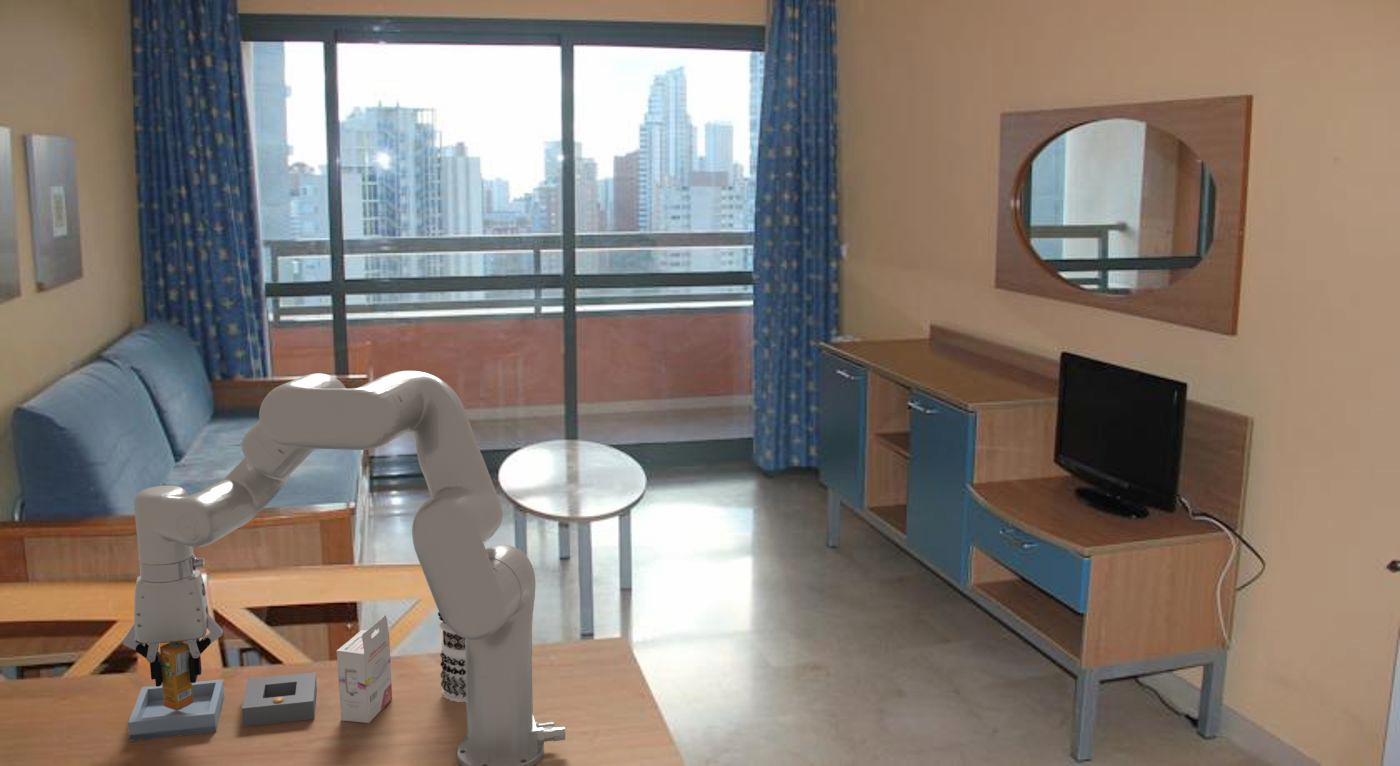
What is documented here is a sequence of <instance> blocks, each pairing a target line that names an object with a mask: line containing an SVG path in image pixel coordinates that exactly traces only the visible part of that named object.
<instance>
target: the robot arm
mask: <svg viewBox="0 0 1400 766" xmlns="http://www.w3.org/2000/svg"><path fill="white" fill-rule="evenodd" d="M258 418H259V420H258V421H256V423H254V425H253V426H252V427H251V428H250V429H249V430H248V431H247V432H246V433H245V435H243V438H242V440H241V451H242V454H243V456H244V457H243V458H242V460H241V461H240V462H239V463H237V465H235V467H234V468H233V470H231V472H230V473H229V474H227V475H226V476H225V477H224V478H223V479H222V480H220V481H219V482H217V483H215V484H213V485H210V486H208V487H206V488H204V489H203V490H200V491H198V492H196V493H192V494H190V495H189V494H188V492H187V491H186V489H185V488H183V487H181V486H178V485H165V484H164V485H157V486H151V487H148V488H145V489H143V490H141V491H138V493H137V494H136V495H135V497H134V500H133V506H134V507H133V508H134V510H133V511H134V519H135V532H136V540H137V553H138V563H139V574H140V575H139V576H137V578H136V582H135V588H134V603H133V604H134V608H133V609H134V612H133V613H134V616H133V617H134V618H133V619H134V623H133V624H132V625H131V627H130V629H129V631H128V632H127V634H126V635H125V636H124V638H123V640H122V645H123V646H125V647H127V648H129V649H130V650H133V651H135V652H137V654H138V655H140V656H142V657H143V658H144V659H146V662H147V663H149V669H150V677H151V678H150V679H151V680H155V682H154V683H155V686H156V687H158V686H160V685H162V669H161V652H159V648H160V644H164V643H165V644H168V643H170V642H177V641H180V642H186V643H187V644H188V646H189V649H190V657H189V673H190V682H192V683H196V682H197V679H198V676H200V675H202V670H203V669H202V659H201V655H202V654H203V653H204V651H205V650H206V649H207V648H208V647H209V646H210V645H211V644H213V643H214V642H216V641H217V640H218V639H219V638H220V637H222V636H223V632H224V629H223V628H222V627H221V626H220V625H219V624H218V623H217V621H215V619H214V618H213V617H212V616H211V615H210V613H209V612H210V610H209V603H208V597H207V596H208V595H207V591H206V586H205V583H204V578H203V575H202V572H201V570H198V569H199V568H204V567H205V566H206V565H205V558H204V557H199V556H198V557H197V556H196V555H195V552H194V548H201V547H202V548H203V547H206V546H209V545H211V544H214V543H215V542H217V541H218V540H221V539H222V538H224V537H225V536H227V535H228V534H230V533H233V532H234V531H236V530H237V529H239V528H242V527H243V526H245V525H246V524H248V523H249V522H250V521H252V520H253V518H255V517H256V516H257V515H258V514H260V512H261V511H263V509H264V508H266V506H267V505H268V504H269V503H270V502H272V500H273V499H274V498H275V497H276V496H277V495H278V494H279V493H280V491H281V490H282V489H283V488H284V486H285V485H286V483H287V482H288V480H289V479H290V477H291V474H292V473H293V472H294V471H296V469H297V468H298V467H299V466H300V465H302V463H303V462H304V461H305V460H306V459H307V458H308V457H309V456H311V454H312V453H313V452H314V451H315V450H341V451H342V450H343V451H344V450H345V451H347V450H348V451H365V450H374V449H377V448H379V447H380V448H381V447H383V446H384V445H387V444H388V443H389V444H390V442H392V441H393V440H395V439H397V438H399V437H401V436H403V435H405V434H406V433H407V432H408V433H412V434H413V435H414V438H415V443H416V444H415V445H416V446H415V447H416V456H417V462H418V464H419V468H420V471H421V472H422V475H423V477H424V480H425V483H426V486H427V489H428V492H429V495H430V497H429V499H428V500H426V501H425V502H424V503H423V504H422V505H421V506H420V507H419V508H418V510H417V512H416V514H415V515H414V519H413V520H412V521H413V522H412V526H411V527H412V528H411V536H412V544H413V547H414V551H415V554H416V557H417V560H418V563H419V564H420V567H421V571H422V573H423V576H424V577H425V580H426V583H427V585H428V588H429V591H430V592H431V595H432V598H433V601H434V603H435V605H436V609H437V611H438V612H439V613H440V615H441V617H442V618H443V620H444V622H445V623H446V624H447V626H448V627H449V628H450V629H451V630H452V631H453V632H454V633H456V634H457V635H459V636H461V637H463V638H465V669H466V737H465V738H463V740H462V741H461V742H460V743H459V744H458V746H457V749H456V758H457V759H456V760H457V761H458V764H459V765H461V766H534V765H536V764H538V762H540V761H541V759H543V756H544V753H545V742H559V741H566V729H565V726H556V727H555V722H554V721H547V722H543V723H542V722H541V723H539V722H538V721H535V717H534V715H533V709H534V708H533V704H534V703H533V660H532V659H533V657H532V656H533V620H534V619H533V618H534V607H535V599H536V587H537V583H536V575H535V570H534V567H533V564H532V562H531V560H530V559H529V557H528V556H527V555H526V554H525V553H524V552H523V551H522V550H521V549H519V548H518V547H515V546H513V545H510V544H509V545H508V544H496V545H492V546H489V547H487V548H486V546H485V544H486V543H487V542H488V541H489V540H490V539H491V538H492V537H493V536H494V534H495V533H496V532H497V531H498V530H499V529H500V526H501V525H502V523H503V515H504V514H503V508H502V504H501V502H500V498H499V496H498V493H497V490H496V489H495V488H496V487H495V486H494V483H493V481H492V478H491V475H490V473H489V470H488V467H487V464H486V462H485V460H484V457H483V455H482V452H481V451H480V447H479V445H478V443H477V439H476V437H475V434H474V431H473V429H472V426H471V423H470V420H469V418H468V415H467V412H466V409H465V406H464V404H463V402H462V401H461V399H460V398H459V396H458V394H457V393H456V392H455V391H454V389H453V388H452V387H451V386H450V385H449V384H448V383H447V382H445V380H443V379H441V378H439V377H437V376H436V375H434V374H430V373H428V372H425V371H420V370H419V371H418V370H401V371H400V370H399V371H395V372H391V373H388V374H386V375H383V376H380V377H377V378H376V379H374V380H371V381H370V382H368V383H365V384H363V385H361V386H358V387H354V388H346V386H345V385H344V384H343V382H341V380H340V379H338V378H336V377H335V376H333V375H330V374H328V373H327V374H326V373H320V372H319V373H317V372H316V373H310V374H309V373H308V374H306V375H303V376H300V377H297V378H296V379H293V380H290V381H288V382H285V383H282V384H281V385H278V386H276V387H274V388H273V389H272V390H271V391H269V392H268V393H267V395H266V396H265V397H264V398H263V400H262V402H261V405H260V407H259V413H258ZM207 630H208V631H209V633H208V634H207ZM206 634H207V635H206Z"/></svg>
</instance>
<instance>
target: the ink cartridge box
mask: <svg viewBox="0 0 1400 766" xmlns="http://www.w3.org/2000/svg"><path fill="white" fill-rule="evenodd" d="M390 643H391V642H390V632H389V624H388V618H387V615H383V616H382V617H380V619H378V620H377V621H376V622H375V623H374V624H372V625H371V626H370V627H369V628H368V629H361V630H360V631H358V632H357V633H356V634H355V635H354V636H352V638H350V639H349V640H348V641H346V642H345V643H344V644H343V645H342V646H340V648H338V649H337V650H336V660H337V661H336V663H337V678H338V693H339V709H340V720H341V721H342V722H343V721H344V722H345V721H346V722H354V723H355V722H356V723H364V724H370V723H371V722H372V720H373V719H374V718H375V717H376V716H377V715H378V714H380V712H382V710H383V709H384V708H385V707H386V706H387V705H388V704H389V703H390V702H391V701H392V699H393V689H392V685H393V683H392V665H391V664H392V663H391V645H390Z"/></svg>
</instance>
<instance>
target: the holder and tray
mask: <svg viewBox="0 0 1400 766" xmlns="http://www.w3.org/2000/svg"><path fill="white" fill-rule="evenodd" d="M224 684H225V683H224V679H223V678H221V679H213V680H203V681H196V683H192V693H193V703H192V704H190V705H188V706H186V707H184V708H182V709H180V710H178V711H176V710H174V709H171V708H168V707H165V706H164V703H163V686H162V685H160V686H158V687H156V685H150V686H142V687H141V688H140V692H139V694H138V697H137V699H136V702H135V703H134V707H133V709H132V711H131V714H130V717H129V719H128V723H127V725H128V736H129V741H130V740H136V741H141V740H140V739H143V740H142V741H144V739H145V740H152V739H153V740H154V738H155V739H162V738H172V736H173V737H181V735H183V736H190V735H198V734H208V733H216V732H217V729H218V726H219V725H218V724H219V721H220V716H221V712H222V709H223V706H224V705H223V704H224V700H225V685H224ZM317 687H318V686H317V672H316V671H315V672H306V673H304V672H303V673H296V674H295V673H294V674H285V675H276V676H274V675H273V676H266V677H256V678H247V683H246V687H245V693H244V697H243V701H242V706H241V714H242V716H241V717H242V727H253V726H261V725H269V724H279V723H290V722H297V721H298V722H299V721H309V720H314V719H315V715H316V705H317V704H316V703H317V692H318V688H317ZM179 735H180V736H179Z"/></svg>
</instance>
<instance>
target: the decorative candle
mask: <svg viewBox="0 0 1400 766" xmlns="http://www.w3.org/2000/svg"><path fill="white" fill-rule="evenodd" d="M437 616H438V619H439V620H440V622H439V627H440V629H441V630H442V641H441V648H442V649H441V651H440V654H439V656H440V658H441V662H440V666H441V669H442V670H441V672H440V677H441V681H440V685H441V687H442V689H441V695H442V694H443V695H444V696H443V695H442V696H443V698H444V697H445V698H447V699H446V700H448V699H449V700H448V701H450V700H452V701H451V702H453V701H459V702H466V669H465V638H463V637H461V636H459V635H457V634H456V633H454V632H453V631H452V630H451V629H450V628H449V627H448V626H447V624H446V623H445V622H444V620H443V618H442V617H441V615H440V613H439V611H438V612H437ZM445 698H444V699H445ZM459 702H458V703H459Z"/></svg>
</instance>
